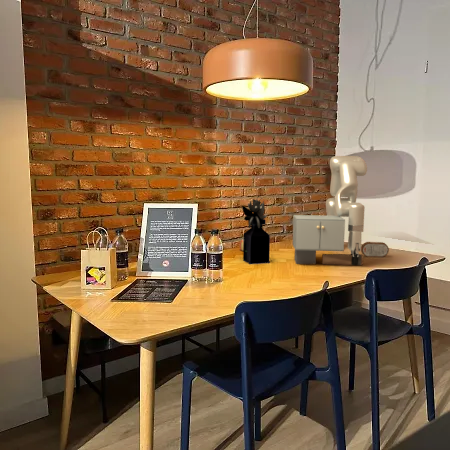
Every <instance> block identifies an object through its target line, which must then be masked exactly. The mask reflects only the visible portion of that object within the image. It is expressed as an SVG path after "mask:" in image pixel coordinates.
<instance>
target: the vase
mask: <svg viewBox="0 0 450 450" xmlns="http://www.w3.org/2000/svg"><path fill="white" fill-rule="evenodd" d="M259 197H261V198H260V199H259V200H258V198H259ZM260 200H263V198H262V195H258V196H257V197H256V198H255V199H252V200H250V201H249V202H248V203H247V207H246V206H244V205H242V206H241V209H242V213H244V215H245V216H244V218H243V220H244V221H248V230H247V231H245V232H244V233H243V239H244V241H243V251H242V252H243V253H242V254H243V255H242V261H243V262H245V263H247V264H249V265H261V264H263V265H264V264H270V254H271V253H270V252H271V251H270V250H271V249H270V246H271V239H270V238H271V235H270V234H269V233H268V232H267V231H265V229H264V228H263V225H266V219H265V218H267V217H268V215H266V214H265V202H264V200H263V201H260ZM264 214H265V215H264Z"/></svg>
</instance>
